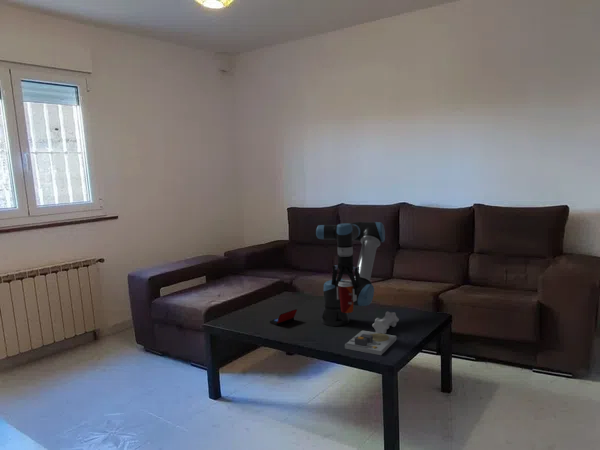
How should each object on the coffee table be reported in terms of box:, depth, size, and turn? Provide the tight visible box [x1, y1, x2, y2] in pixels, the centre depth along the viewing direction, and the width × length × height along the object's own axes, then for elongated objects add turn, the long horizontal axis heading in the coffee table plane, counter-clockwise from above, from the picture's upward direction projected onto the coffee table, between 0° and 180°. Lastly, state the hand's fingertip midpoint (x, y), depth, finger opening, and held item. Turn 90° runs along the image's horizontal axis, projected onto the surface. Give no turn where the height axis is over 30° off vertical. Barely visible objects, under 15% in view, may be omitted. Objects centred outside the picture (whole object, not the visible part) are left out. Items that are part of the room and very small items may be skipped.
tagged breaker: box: [355, 336, 367, 346], centre depth 212 cm, size 5×3×3 cm, turn 58°
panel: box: [344, 330, 397, 356], centre depth 217 cm, size 18×20×5 cm
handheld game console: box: [269, 308, 298, 326], centre depth 254 cm, size 12×11×7 cm
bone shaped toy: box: [371, 311, 400, 334], centre depth 235 cm, size 15×9×8 cm, turn 143°
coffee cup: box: [338, 279, 354, 314], centre depth 227 cm, size 8×8×15 cm
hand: (346, 299), depth 227 cm, fingers closed on coffee cup, 8 cm apart
